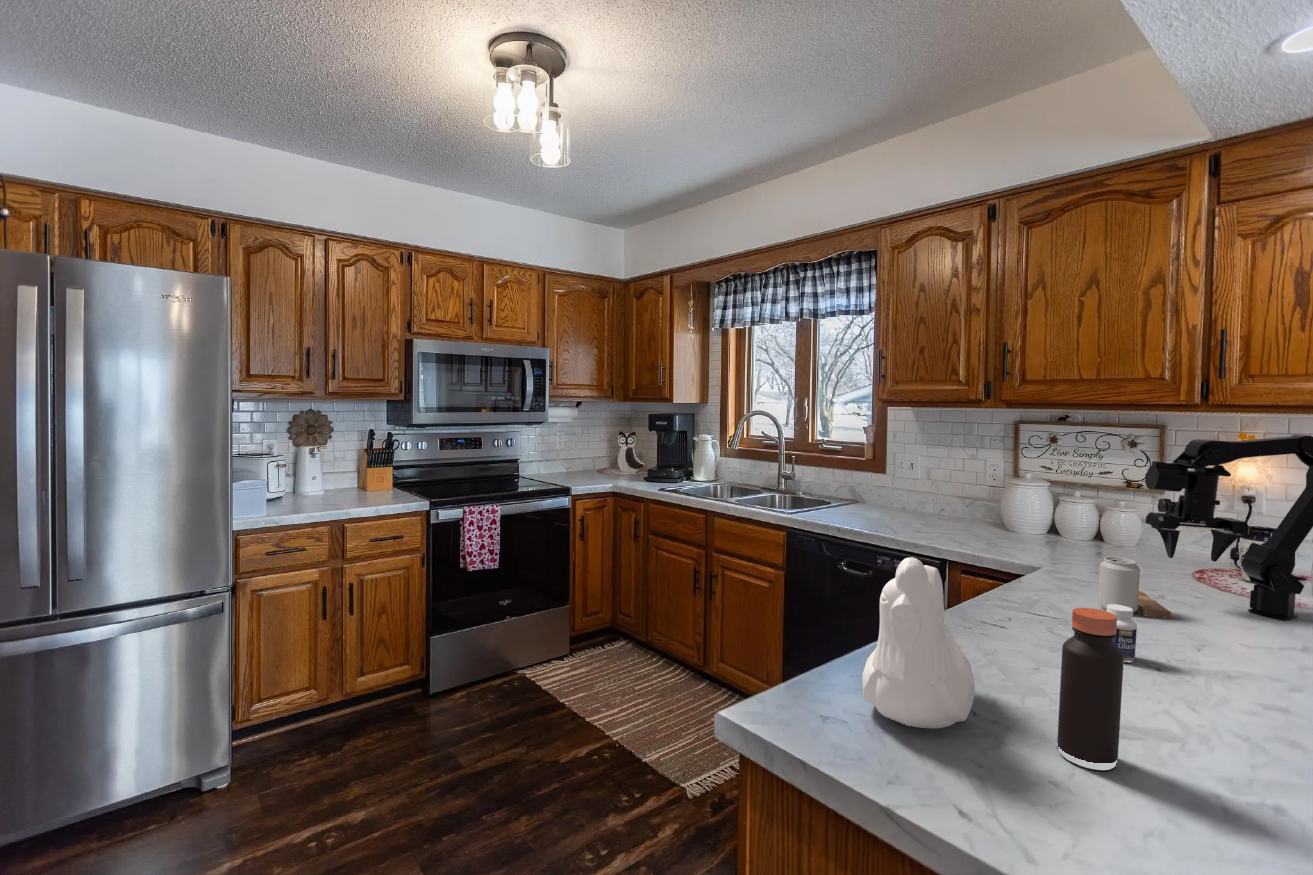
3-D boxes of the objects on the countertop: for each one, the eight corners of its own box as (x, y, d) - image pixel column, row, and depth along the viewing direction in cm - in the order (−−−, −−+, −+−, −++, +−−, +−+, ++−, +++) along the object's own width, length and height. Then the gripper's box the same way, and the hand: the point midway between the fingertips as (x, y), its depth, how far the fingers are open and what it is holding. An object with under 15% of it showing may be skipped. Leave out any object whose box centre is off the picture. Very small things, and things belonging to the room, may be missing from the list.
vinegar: (1092, 744, 89) (1100, 604, 88) (1130, 772, 83) (1139, 622, 81) (1045, 744, 89) (1052, 604, 88) (1079, 772, 82) (1087, 622, 81)
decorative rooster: (945, 760, 85) (953, 578, 83) (838, 717, 96) (843, 556, 94) (1005, 699, 103) (1012, 547, 101) (909, 669, 114) (914, 532, 112)
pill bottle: (1119, 665, 116) (1122, 613, 116) (1092, 653, 121) (1095, 603, 121) (1142, 662, 118) (1145, 610, 117) (1114, 651, 123) (1117, 601, 122)
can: (1124, 605, 151) (1127, 555, 150) (1145, 616, 143) (1148, 564, 142) (1090, 604, 151) (1093, 554, 151) (1110, 615, 144) (1113, 562, 143)
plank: (1117, 595, 158) (1118, 589, 158) (1141, 597, 157) (1142, 591, 157) (1143, 615, 143) (1144, 609, 143) (1170, 618, 142) (1170, 611, 142)
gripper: (1219, 490, 154) (1210, 553, 155) (1135, 485, 156) (1127, 547, 158) (1255, 498, 143) (1246, 566, 144) (1164, 492, 145) (1156, 559, 147)
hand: (1191, 559), depth 149 cm, fingers open, 9 cm apart
